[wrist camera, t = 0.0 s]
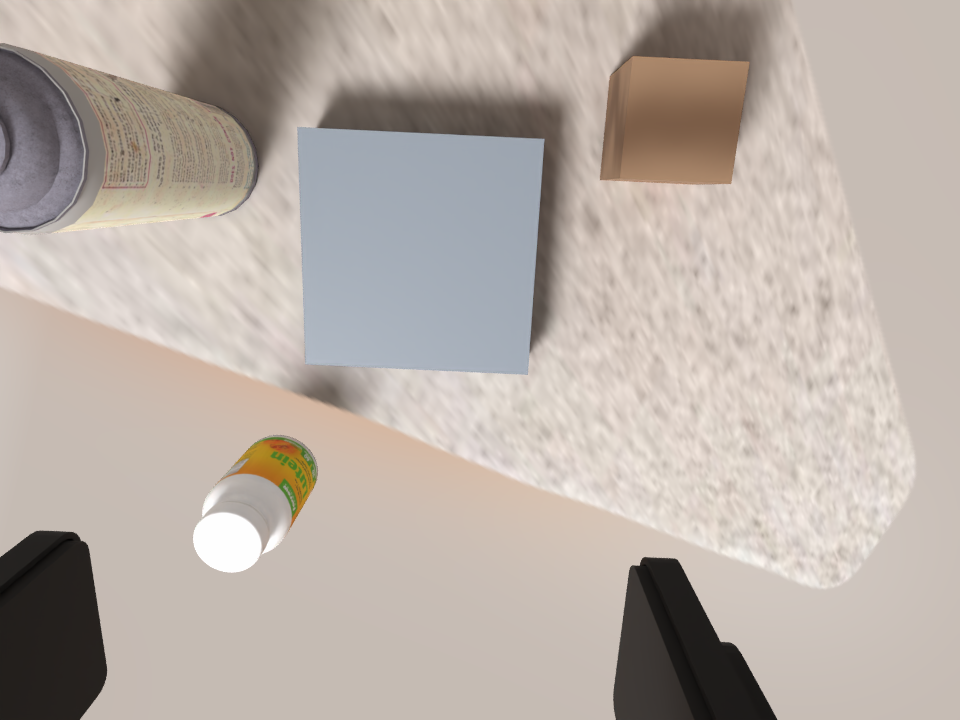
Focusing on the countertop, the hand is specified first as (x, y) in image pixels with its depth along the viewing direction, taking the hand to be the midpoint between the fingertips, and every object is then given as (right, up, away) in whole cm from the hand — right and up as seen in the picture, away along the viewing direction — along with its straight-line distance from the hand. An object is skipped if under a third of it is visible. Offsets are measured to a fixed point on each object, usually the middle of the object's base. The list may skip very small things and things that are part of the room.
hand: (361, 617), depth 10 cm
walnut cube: (+13, +19, +27) cm, 35 cm away
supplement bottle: (-12, -3, +34) cm, 36 cm away
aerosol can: (-15, +17, +28) cm, 36 cm away
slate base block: (-2, +12, +30) cm, 32 cm away
